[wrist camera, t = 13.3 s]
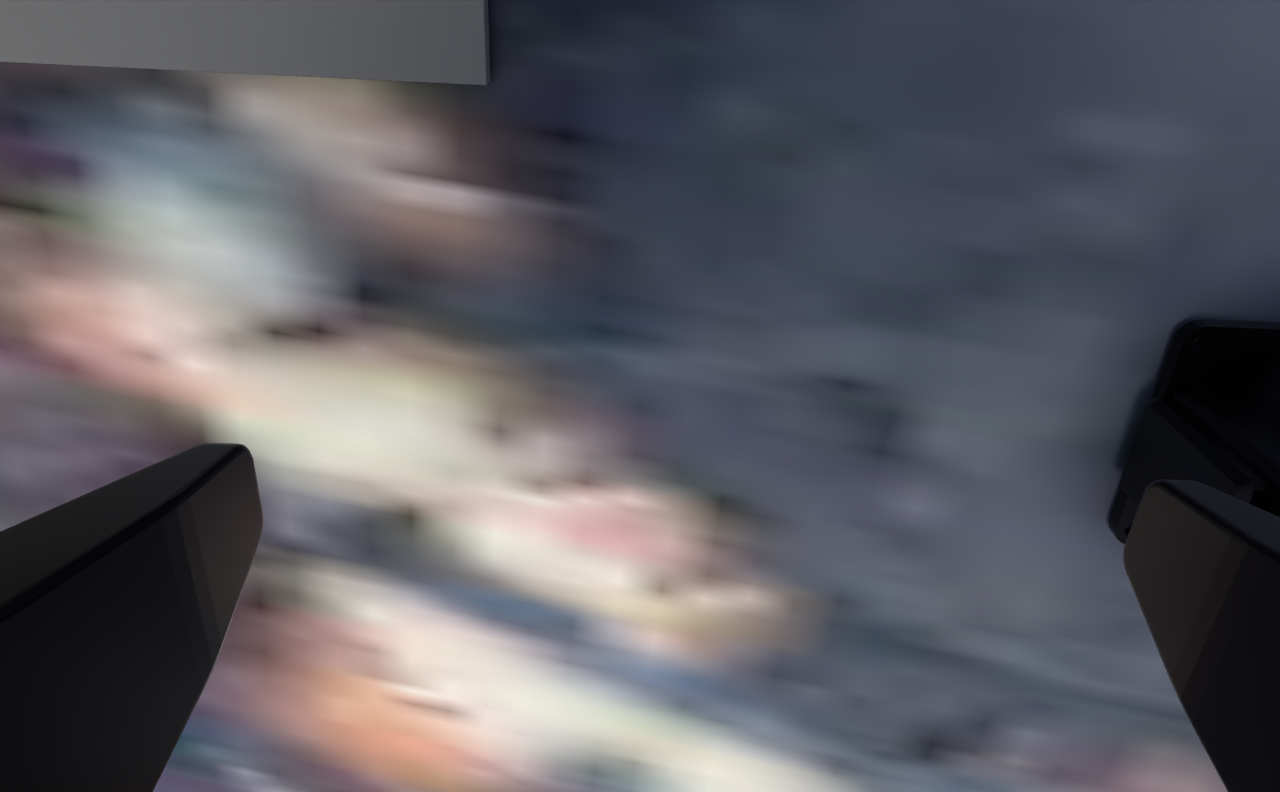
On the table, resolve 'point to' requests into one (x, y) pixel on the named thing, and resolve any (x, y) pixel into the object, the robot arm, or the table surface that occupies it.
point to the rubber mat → (257, 37)
